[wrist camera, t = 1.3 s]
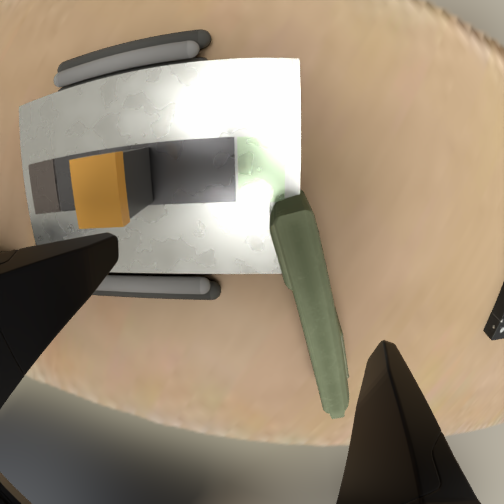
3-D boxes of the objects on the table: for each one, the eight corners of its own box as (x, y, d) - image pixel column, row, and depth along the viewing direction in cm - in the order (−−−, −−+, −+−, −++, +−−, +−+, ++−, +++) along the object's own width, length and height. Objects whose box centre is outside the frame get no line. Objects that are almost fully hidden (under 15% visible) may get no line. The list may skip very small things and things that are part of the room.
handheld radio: (307, 184, 23) (347, 392, 32) (266, 195, 23) (321, 398, 33) (319, 206, 17) (356, 436, 26) (264, 220, 17) (326, 442, 26)
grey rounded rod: (90, 289, 27) (77, 303, 24) (81, 252, 25) (66, 265, 23) (222, 293, 26) (218, 311, 24) (219, 252, 25) (214, 266, 22)
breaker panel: (53, 261, 26) (41, 271, 24) (32, 106, 20) (17, 106, 18) (294, 262, 25) (297, 275, 23) (296, 64, 19) (299, 57, 17)
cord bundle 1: (63, 105, 20) (45, 105, 17) (64, 64, 18) (46, 61, 16) (212, 78, 19) (206, 71, 17) (212, 32, 18) (206, 20, 15)
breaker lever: (116, 205, 21) (78, 228, 16) (111, 150, 19) (69, 160, 14) (154, 203, 21) (123, 226, 16) (150, 145, 19) (114, 152, 14)
